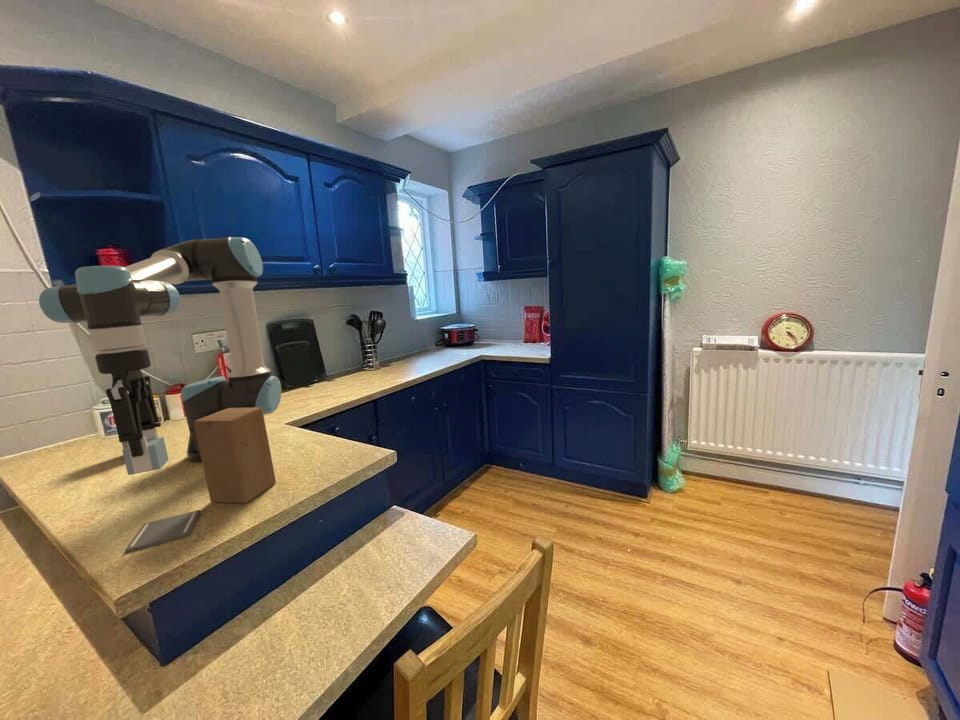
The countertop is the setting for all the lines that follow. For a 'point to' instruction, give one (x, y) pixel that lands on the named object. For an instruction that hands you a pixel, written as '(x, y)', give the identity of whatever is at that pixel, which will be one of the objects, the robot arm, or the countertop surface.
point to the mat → (163, 531)
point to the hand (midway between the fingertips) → (149, 465)
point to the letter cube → (156, 454)
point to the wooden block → (235, 454)
